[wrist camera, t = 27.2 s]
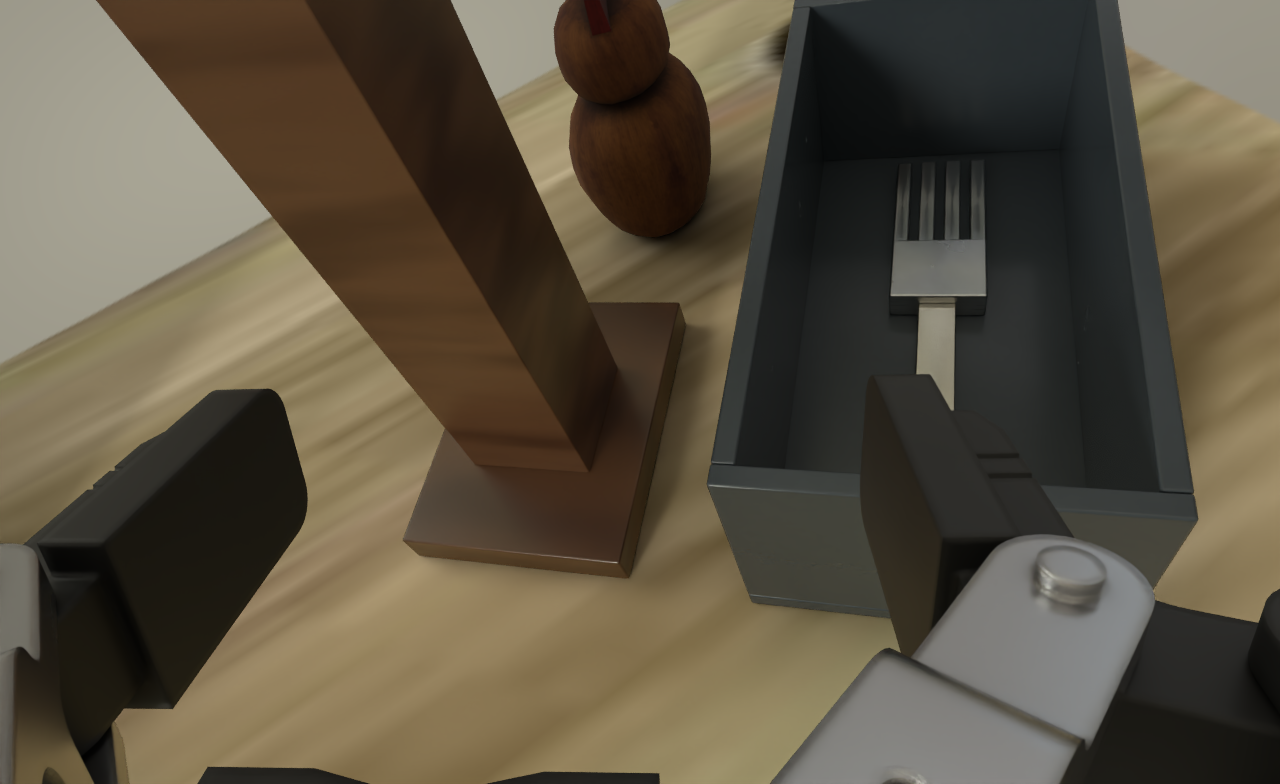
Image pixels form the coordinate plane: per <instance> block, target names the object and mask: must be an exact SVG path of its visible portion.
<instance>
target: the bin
mask: <svg viewBox="0 0 1280 784" xmlns="http://www.w3.org/2000/svg"><path fill="white" fill-rule="evenodd" d="M972 160H985V193H986V240H987V278H988V298H987V305H986V313H985V314H984V315H956V370H955V410H974V411H976V412H977V413H979V414H981V415H982V416H984V417H985V418H987V419H988V420H990V421H991V422H993V423H994V424H996V425H997V426H999V427H1000V428H1002V429H1003V430H1004V431H1005V432H1006V434H1007V435H1008V437H1009V438H1010V440H1011V441H1012V443H1013V445H1014V446H1015V448H1016V449H1017V451H1018V452H1019V458H1023V460H1024V461H1025V463H1026V464H1027V466H1028V467H1029V469H1030V470H1031V472H1032V478H1036V480H1037V481H1038V483H1039V484H1040V486H1041V487H1042V489H1043V490H1044V492H1045V493H1046V495H1047V496H1048V498H1049V499H1050V501H1051V502H1052V504H1053V505H1054V507H1055V509H1056V510H1057V512H1058V513H1059V515H1060V516H1061V518H1062V519H1063V521H1064V522H1065V524H1066V525H1067V527H1068V528H1069V530H1070V531H1071V533H1072V534H1073V536H1074V537H1075V538H1076V539H1080V540H1083V541H1087V542H1090V543H1093V544H1095V545H1098V546H1101V547H1103V548H1105V549H1107V550H1109V551H1111V552H1113V553H1116V554H1117V555H1119V556H1120V557H1122V558H1124V559H1125V560H1127V561H1128V562H1130V563H1131V564H1132V565H1133V566H1135V567H1136V568H1137V569H1138V570H1139V571H1140V572H1141V573H1142V574H1143V575H1144V576H1145V577H1146V579H1147V580H1148V582H1149V583H1150V585H1151V587H1152V590H1153V589H1154V587H1155V586H1156V584H1157V583H1158V581H1159V580H1160V578H1161V577H1162V575H1163V574H1164V572H1165V571H1166V569H1167V567H1168V566H1169V564H1170V563H1171V561H1172V560H1173V558H1174V557H1175V555H1176V554H1177V552H1178V551H1179V549H1180V548H1181V546H1182V544H1183V543H1184V541H1185V540H1186V538H1187V537H1188V535H1189V534H1190V532H1191V531H1192V529H1193V528H1194V526H1195V524H1196V523H1197V521H1198V513H1197V507H1196V501H1195V497H1194V495H1193V493H1194V488H1193V481H1192V475H1191V468H1190V462H1189V456H1188V449H1187V443H1186V436H1185V430H1184V424H1183V417H1182V411H1181V404H1180V398H1179V391H1178V385H1177V379H1176V372H1175V366H1174V359H1173V353H1172V347H1171V340H1170V334H1169V327H1168V321H1167V315H1166V308H1165V302H1164V295H1163V289H1162V282H1161V276H1160V270H1159V263H1158V257H1157V250H1156V244H1155V238H1154V231H1153V225H1152V218H1151V212H1150V206H1149V199H1148V193H1147V186H1146V180H1145V173H1144V167H1143V161H1142V154H1141V148H1140V141H1139V135H1138V129H1137V122H1136V116H1135V109H1134V103H1133V97H1132V90H1131V84H1130V77H1129V71H1128V64H1127V58H1126V52H1125V45H1124V39H1123V33H1122V27H1121V20H1120V13H1119V7H1118V0H795V1H794V7H793V13H792V18H791V24H790V29H789V35H788V40H787V46H786V51H785V57H784V62H783V68H782V73H781V79H780V84H779V90H778V95H777V101H776V106H775V112H774V117H773V123H772V128H771V134H770V139H769V145H768V150H767V156H766V161H765V167H764V172H763V178H762V183H761V189H760V194H759V200H758V205H757V211H756V216H755V222H754V227H753V233H752V238H751V244H750V249H749V255H748V260H747V266H746V271H745V277H744V282H743V288H742V293H741V299H740V304H739V310H738V315H737V321H736V326H735V332H734V337H733V343H732V348H731V354H730V359H729V365H728V370H727V376H726V381H725V387H724V392H723V398H722V403H721V409H720V414H719V420H718V425H717V431H716V436H715V442H714V447H713V453H712V458H711V463H712V464H711V466H710V469H709V475H708V480H707V487H708V489H709V492H710V495H711V497H712V500H713V502H714V505H715V508H716V510H717V513H718V515H719V518H720V521H721V523H722V526H723V528H724V531H725V534H726V536H727V539H728V541H729V544H730V547H731V549H732V552H733V555H734V557H735V560H736V562H737V565H738V568H739V570H740V573H741V575H742V578H743V581H744V583H745V586H746V588H747V591H748V593H749V596H750V599H751V601H752V602H753V603H760V604H769V605H778V606H787V607H795V608H804V609H813V610H822V611H830V612H839V613H848V614H857V615H865V616H874V617H883V618H891V617H890V613H889V610H888V606H887V603H886V600H885V596H884V593H883V589H882V586H881V583H880V579H879V576H878V572H877V569H876V566H875V562H874V559H873V555H872V552H871V548H870V545H869V542H868V538H867V535H866V531H865V528H864V524H863V519H862V513H861V502H860V472H861V458H862V443H863V429H864V414H865V400H866V389H867V384H868V380H869V377H870V376H871V375H904V374H915V367H916V343H917V319H918V315H898V314H890V313H889V287H890V272H891V257H892V243H893V233H894V218H895V202H896V187H897V171H898V164H907V163H911V164H912V183H911V202H910V221H909V240H918V234H919V212H920V189H921V166H922V163H923V162H936V180H935V212H934V240H944V196H945V166H946V162H947V161H960V239H969V170H970V162H971V161H972Z"/></svg>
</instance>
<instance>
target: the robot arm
mask: <svg viewBox="0 0 1280 784" xmlns="http://www.w3.org/2000/svg"><path fill="white" fill-rule="evenodd" d="M307 501H308V498H307V487H306V483H305V479H304V475H303V472H302V468H301V465H300V461H299V457H298V454H297V450H296V447H295V443H294V439H293V436H292V432H291V429H290V425H289V421H288V418H287V414H286V411H285V407H284V404H283V402H282V400H281V398H280V397H279V395H278V394H277V393H276V392H275V391H273V390H271V389H237V390H215V391H212V392H211V393H209V394H208V395H207V396H206V397H205V398H203V399H202V400H201V401H200V402H199V403H198V404H196V405H195V406H194V407H193V408H192V409H191V410H190V411H188V412H187V413H186V414H185V415H184V416H183V417H181V418H180V419H179V420H178V421H177V422H176V423H175V424H173V425H172V426H171V427H170V428H169V429H168V430H166V431H165V432H163V433H162V434H160V435H158V436H156V437H154V438H152V439H150V440H148V441H146V442H144V443H143V444H141V445H139V446H138V447H137V448H136V449H135V450H134V451H132V452H131V453H130V454H129V455H128V456H127V457H125V458H124V459H123V460H122V461H121V462H119V463H118V464H117V465H116V466H115V471H109V472H108V473H107V474H105V475H104V476H103V477H102V478H101V479H100V480H98V481H97V482H96V483H95V484H94V485H93V490H87V491H85V492H84V493H83V494H82V495H81V496H80V497H78V498H77V499H76V500H75V501H74V502H73V503H71V504H70V505H69V506H68V507H67V508H66V509H64V510H63V511H62V512H61V513H60V514H58V515H57V516H56V517H55V518H54V519H53V520H51V521H50V522H49V523H48V524H47V525H46V526H44V527H43V528H42V529H41V530H40V531H39V532H37V533H36V534H35V535H34V536H33V537H31V538H30V539H29V540H28V541H27V542H26V543H24V544H23V545H21V544H12V543H8V544H0V784H129V778H128V770H127V762H126V755H125V747H124V742H123V738H122V736H121V734H120V732H119V730H118V727H117V725H116V723H115V719H116V718H117V717H118V715H119V714H120V713H121V712H122V710H123V709H124V708H131V709H173V708H174V706H175V705H176V704H177V702H178V701H179V699H180V698H181V697H182V695H183V694H184V692H185V691H186V690H187V688H188V687H189V685H190V684H191V683H192V681H193V680H194V678H195V677H196V676H197V674H198V673H199V671H200V670H201V669H202V667H203V666H204V664H205V663H206V662H207V660H208V659H209V657H210V656H211V654H212V653H213V652H214V650H215V649H216V647H217V646H218V645H219V643H220V642H221V640H222V639H223V638H224V636H225V635H226V633H227V632H228V631H229V629H230V628H231V626H232V625H233V624H234V622H235V621H236V619H237V618H238V617H239V615H240V614H241V612H242V611H243V610H244V608H245V607H246V605H247V604H248V603H249V601H250V600H251V598H252V597H253V595H254V594H255V593H256V591H257V590H258V588H259V587H260V586H261V584H262V583H263V581H264V580H265V579H266V577H267V576H268V574H269V573H270V572H271V570H272V569H273V567H274V566H275V565H276V563H277V562H278V560H279V559H280V558H281V556H282V555H283V553H284V552H285V551H286V549H287V548H288V546H289V545H290V543H291V542H292V541H293V539H294V538H295V536H296V535H297V534H298V532H299V531H300V529H301V527H302V525H303V523H304V520H305V516H306V512H307ZM860 502H861V513H862V519H863V524H864V528H865V531H866V535H867V538H868V542H869V545H870V548H871V552H872V555H873V559H874V562H875V566H876V569H877V572H878V576H879V579H880V583H881V586H882V589H883V593H884V596H885V600H886V603H887V606H888V610H889V613H890V617H891V620H892V624H893V627H894V630H895V634H896V637H897V641H898V644H899V647H900V651H901V653H900V652H898V651H896V650H893V649H891V648H886V649H884V650H882V651H880V652H879V653H878V654H876V655H875V656H874V657H873V658H872V659H871V660H870V662H869V663H868V664H867V665H866V666H865V668H864V669H863V670H862V671H861V672H860V674H859V675H858V676H857V677H856V679H855V680H854V681H853V682H852V683H851V685H850V686H849V687H848V688H847V690H846V691H845V692H844V693H843V695H842V696H841V697H840V698H839V699H838V701H837V702H836V703H835V704H834V706H833V707H832V708H831V709H830V710H829V712H828V713H827V714H826V715H825V717H824V718H823V719H822V720H821V722H820V723H819V724H818V725H817V726H816V728H815V729H814V730H813V731H812V733H811V734H810V735H809V736H808V737H807V739H806V740H805V741H804V742H803V744H802V745H801V746H800V747H799V749H798V750H797V751H796V752H795V753H794V755H793V756H792V757H791V758H790V760H789V761H788V762H787V763H786V764H785V766H784V767H783V768H782V769H781V771H780V772H779V773H778V774H777V776H776V777H775V778H774V779H773V780H772V782H771V783H770V784H1280V589H1279V590H1277V591H1275V592H1274V593H1272V594H1271V595H1270V596H1269V597H1268V599H1267V600H1266V603H1265V606H1264V609H1263V612H1262V614H1261V617H1260V620H1259V623H1256V622H1251V621H1245V620H1240V619H1235V618H1230V617H1225V616H1220V615H1215V614H1210V613H1205V612H1200V611H1195V610H1190V609H1185V608H1181V607H1177V606H1173V605H1169V604H1166V603H1163V602H1160V601H1157V600H1155V596H1154V592H1153V590H1152V587H1151V585H1150V583H1149V582H1148V580H1147V579H1146V577H1145V576H1144V575H1143V574H1142V573H1141V572H1140V571H1139V570H1138V569H1137V568H1136V567H1135V566H1133V565H1132V564H1131V563H1130V562H1128V561H1127V560H1125V559H1124V558H1122V557H1120V556H1119V555H1117V554H1116V553H1113V552H1111V551H1109V550H1107V549H1105V548H1103V547H1101V546H1098V545H1095V544H1093V543H1090V542H1087V541H1083V540H1080V539H1076V538H1075V537H1074V536H1073V534H1072V533H1071V531H1070V530H1069V528H1068V527H1067V525H1066V524H1065V522H1064V521H1063V519H1062V518H1061V516H1060V515H1059V513H1058V512H1057V510H1056V509H1055V507H1054V505H1053V504H1052V502H1051V501H1050V499H1049V498H1048V496H1047V495H1046V493H1045V492H1044V490H1043V489H1042V487H1041V486H1040V484H1039V483H1038V481H1037V480H1036V478H1032V472H1031V470H1030V469H1029V467H1028V466H1027V464H1026V463H1025V461H1024V460H1023V458H1019V452H1018V451H1017V449H1016V448H1015V446H1014V445H1013V443H1012V441H1011V440H1010V438H1009V437H1008V435H1007V434H1006V432H1005V431H1004V430H1003V429H1002V428H1000V427H999V426H997V425H996V424H994V423H993V422H991V421H990V420H988V419H987V418H985V417H984V416H982V415H981V414H979V413H977V412H976V411H974V410H951V409H950V408H949V406H948V404H947V402H946V400H945V399H944V397H943V395H942V393H941V392H940V390H939V388H938V386H937V385H936V383H935V381H934V379H933V378H932V376H931V375H930V374H904V375H871V376H870V377H869V380H868V384H867V389H866V400H865V414H864V429H863V443H862V458H861V472H860ZM198 784H368V783H365V782H361V781H358V780H354V779H351V778H347V777H344V776H340V775H336V774H333V773H329V772H326V771H322V770H319V769H315V768H251V767H207V769H206V771H205V772H204V774H203V775H202V777H201V779H200V780H199V782H198ZM488 784H660V778H659V773H597V772H541V773H536V774H531V775H526V776H522V777H517V778H512V779H507V780H502V781H497V782H493V783H488Z"/></svg>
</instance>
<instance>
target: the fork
mask: <svg viewBox="0 0 1280 784" xmlns="http://www.w3.org/2000/svg"><path fill="white" fill-rule="evenodd" d="M935 180H936V162H923V163H922V166H921V189H920V212H919V234H918V240H909V221H910V202H911V183H912V164H911V163H907V164H898V171H897V187H896V202H895V218H894V233H893V243H892V257H891V272H890V287H889V313H890V314H898V315H918V319H917V343H916V367H915V374H930V375H931V376H932V378H933V379H934V381H935V383H936V385H937V386H938V388H939V390H940V392H941V393H942V395H943V397H944V399H945V400H946V402H947V404H948V406H949V408H950V409H951V410H955V370H956V315H984V314H985V313H986V305H987V298H988V278H987V240H986V193H985V160H972V161H971V162H970V170H969V239H960V161H947V162H946V166H945V196H944V240H934V212H935Z"/></svg>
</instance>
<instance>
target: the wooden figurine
mask: <svg viewBox="0 0 1280 784" xmlns="http://www.w3.org/2000/svg"><path fill="white" fill-rule="evenodd" d="M554 41H555V53H556V57H557V60H558V64H559V67H560V70H561V72H562V74H563V77H564V79H565V81H566V82H567V83H568V84H569V85H570V86H571V88H572V89H573V90H574V91H575V92H576V93H577V94H578V97H577V100H576V103H575V106H574V108H573V111H572V113H571V121H570V138H569V150H570V155H571V160H572V164H573V168H574V171H575V173H576V176H577V178H578V181H579V183H580V186H581V187H582V188H583V190H584V191H585V192H586V194H587V195H588V196H589V198H590V199H591V200H592V202H593V203H594V204H595V205H596V207H597V208H598V209H599V210H600V211H601V213H602V214H603V215H604V216H605V217H606V218H608V219H609V220H610V221H611V222H612V223H613V224H614V225H616V226H617V227H618V228H620V229H621V230H623V231H625V232H628V233H631V234H634V235H637V236H646V237H658V236H662V235H666V234H670V233H672V232H673V231H675V230H677V229H679V228H680V227H682V226H684V225H685V224H686V223H687V222H688V221H689V220H690V219H691V218H692V217H693V216H694V215H695V214H696V213H697V212H698V210H699V208H700V207H701V205H702V203H703V202H704V200H705V196H706V189H707V184H708V180H709V175H710V164H711V145H710V122H709V117H708V112H707V107H706V102H705V100H704V97H703V94H702V91H701V88H700V86H699V84H698V82H697V81H696V79H695V78H694V76H693V75H692V73H691V71H690V70H689V69H688V68H687V67H686V66H685V65H684V64H683V63H682V62H681V61H680V60H679V59H678V58H676V57H675V56H673V55H672V54H670V53H669V48H670V41H669V36H668V31H667V27H666V24H665V20H664V17H663V13H662V10H661V7H660V5H659V3H658V2H657V0H566V1H565V2H564V3H563V4H562V5H561V7H560V8H559V12H558V15H557V19H556V22H555V26H554Z"/></svg>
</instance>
